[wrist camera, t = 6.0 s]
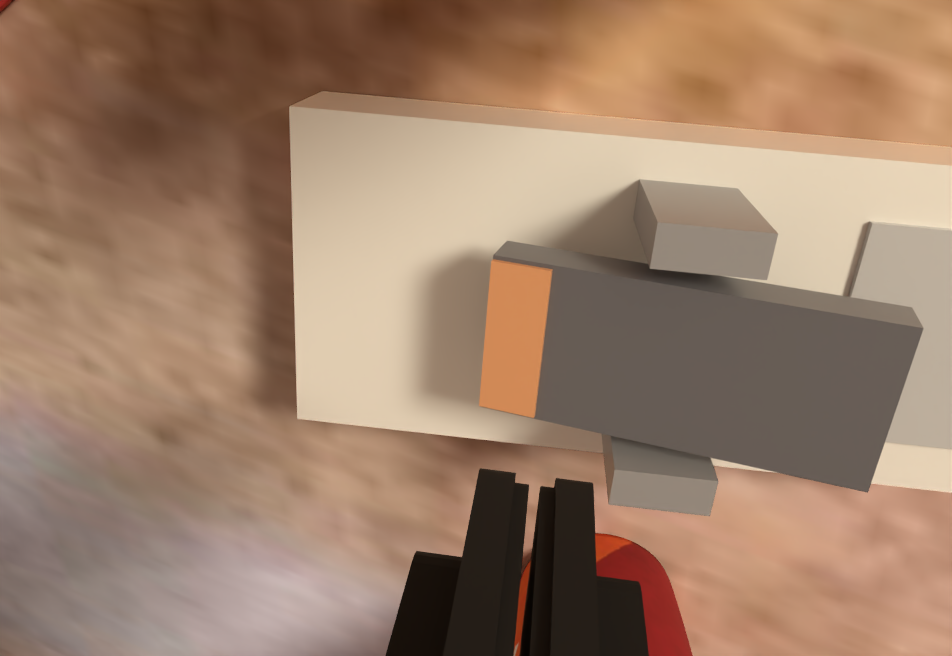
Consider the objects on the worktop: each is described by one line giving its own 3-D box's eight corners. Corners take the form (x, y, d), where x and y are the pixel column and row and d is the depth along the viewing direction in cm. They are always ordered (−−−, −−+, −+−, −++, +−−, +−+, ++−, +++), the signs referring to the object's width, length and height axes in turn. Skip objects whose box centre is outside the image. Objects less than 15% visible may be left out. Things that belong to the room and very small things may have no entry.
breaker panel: (1053, 155, 21) (1263, 227, 15) (945, 440, 25) (1077, 594, 18) (322, 90, 22) (230, 133, 16) (324, 372, 26) (251, 496, 19)
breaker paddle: (912, 307, 17) (925, 331, 15) (860, 464, 18) (868, 495, 17) (506, 240, 19) (491, 256, 18) (493, 385, 20) (478, 409, 19)
